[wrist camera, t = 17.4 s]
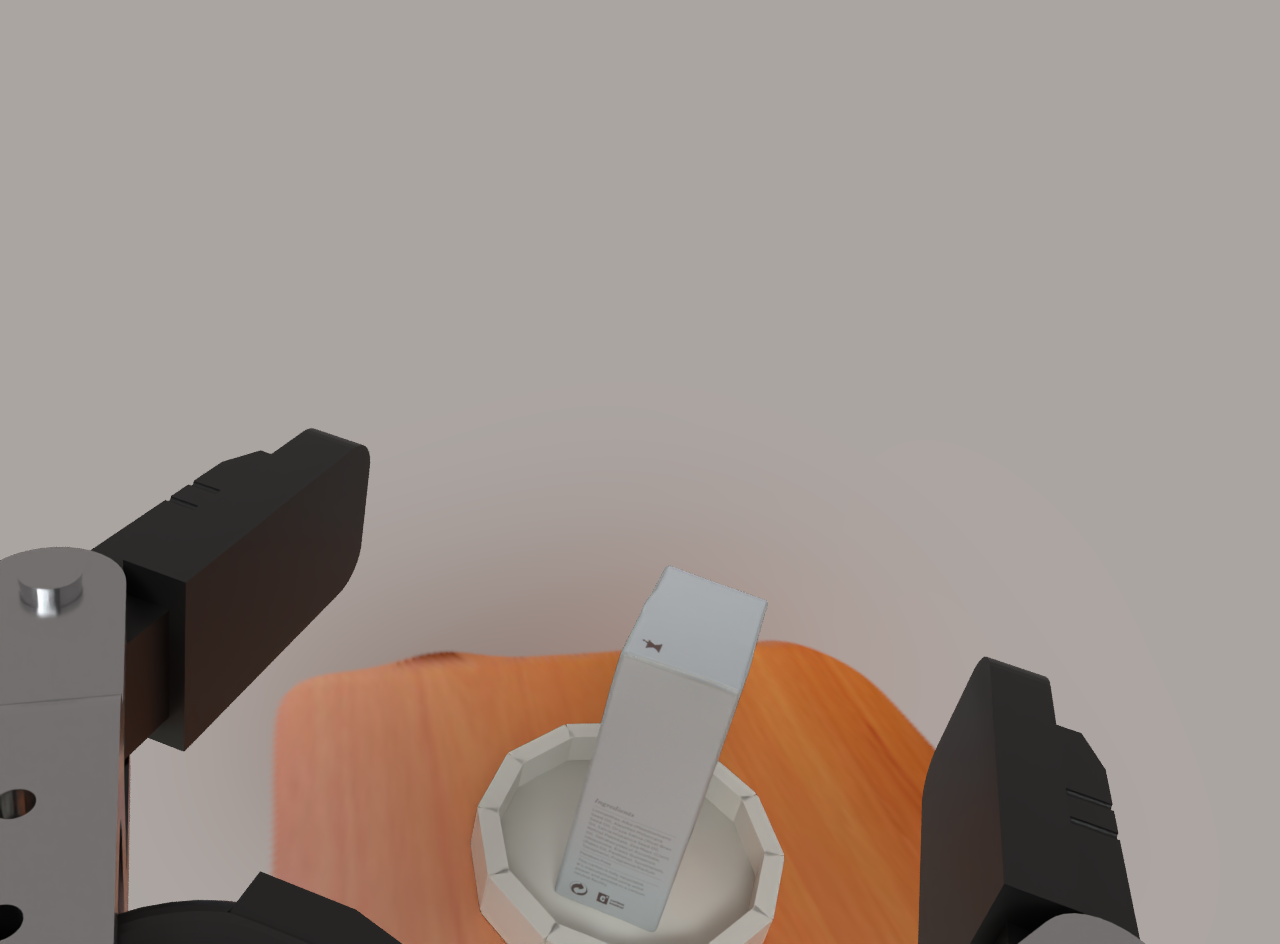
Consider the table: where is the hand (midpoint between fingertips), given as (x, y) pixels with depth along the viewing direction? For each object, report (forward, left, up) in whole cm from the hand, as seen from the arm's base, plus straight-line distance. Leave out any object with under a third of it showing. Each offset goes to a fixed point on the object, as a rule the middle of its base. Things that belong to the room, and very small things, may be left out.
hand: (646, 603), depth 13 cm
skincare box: (0, -19, -26) cm, 32 cm away
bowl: (0, -19, -26) cm, 32 cm away
